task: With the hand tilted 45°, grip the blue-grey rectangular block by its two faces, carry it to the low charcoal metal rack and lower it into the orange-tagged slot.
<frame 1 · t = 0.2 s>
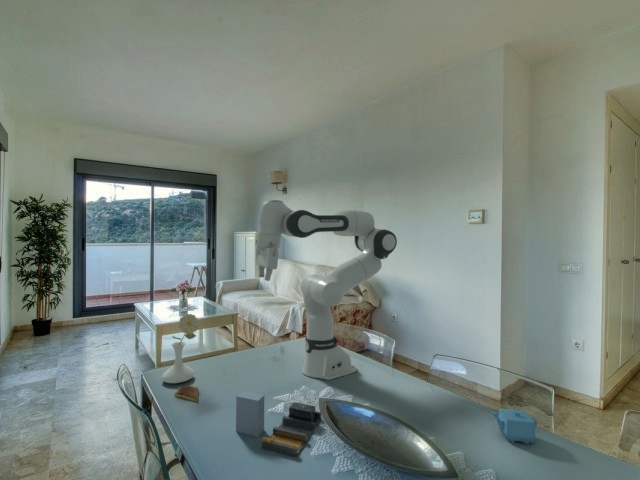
hand: (264, 278, 127), 39 cm above the table, tool pointing down, fingers open, 8 cm apart
rack: (293, 432, 95), on the table
teapot: (512, 438, 94), on the table
shard: (192, 395, 117), on the table
flower in vase: (180, 379, 129), on the table
blue-grey rectangular block: (250, 430, 96), on the table
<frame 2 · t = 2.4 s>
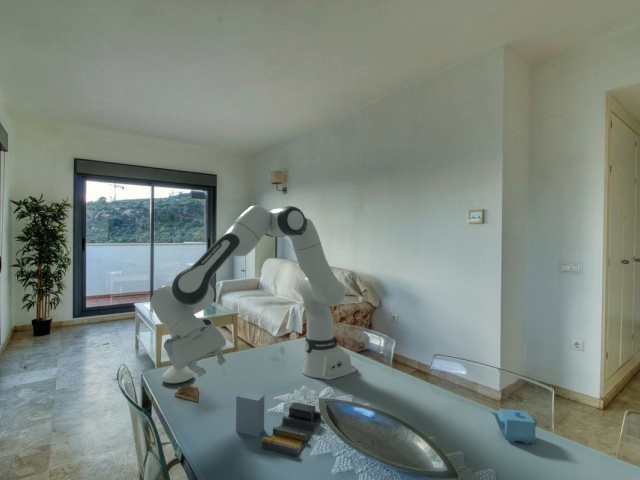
hand: (213, 368, 100), 16 cm above the table, tool tilted 45°, fingers open, 8 cm apart
nothing on the table moved.
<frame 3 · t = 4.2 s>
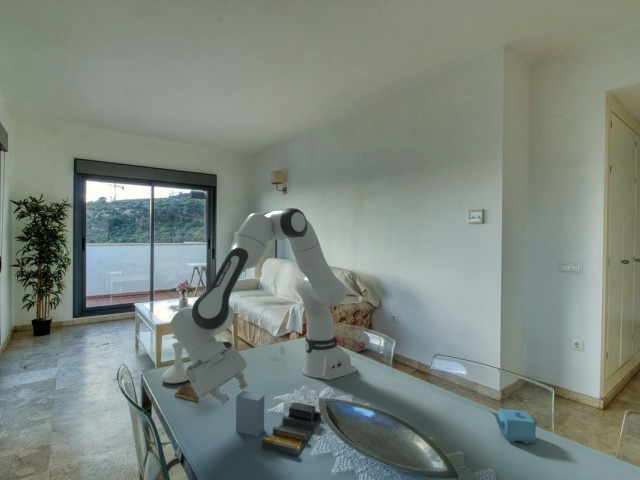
hand: (236, 394, 97), 9 cm above the table, tool tilted 45°, fingers open, 8 cm apart
nothing on the table moved.
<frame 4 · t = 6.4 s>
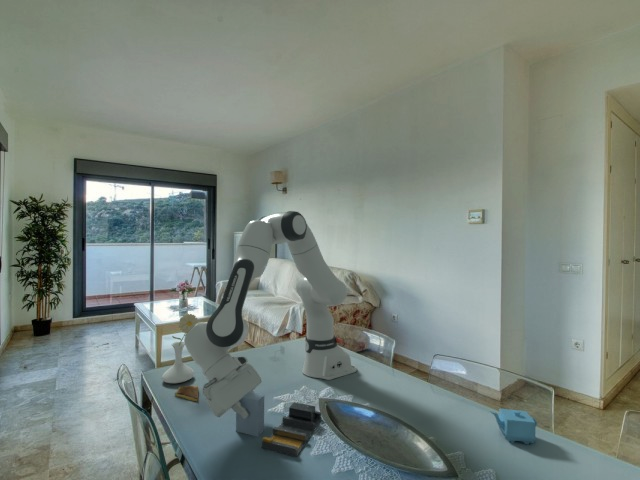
hand: (252, 412, 96), 5 cm above the table, tool tilted 45°, fingers closed on blue-grey rectangular block, 3 cm apart
blue-grey rectangular block: (250, 430, 96), on the table, touching gripper
everything else where it was.
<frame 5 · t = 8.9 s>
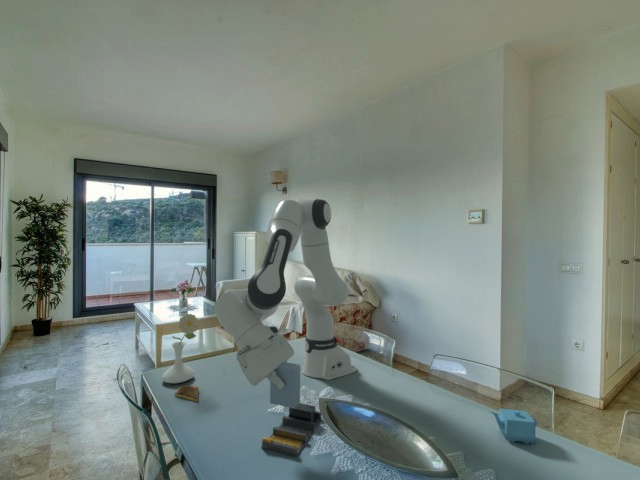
hand: (287, 382, 89), 17 cm above the table, tool tilted 45°, fingers closed on blue-grey rectangular block, 3 cm apart
blue-grey rectangular block: (285, 402, 89), point 11 cm above the table, touching gripper
everything else where it was.
when the fingers open (6 cm above the table, at t = 11.5 s): blue-grey rectangular block stays where it is, resting on rack.
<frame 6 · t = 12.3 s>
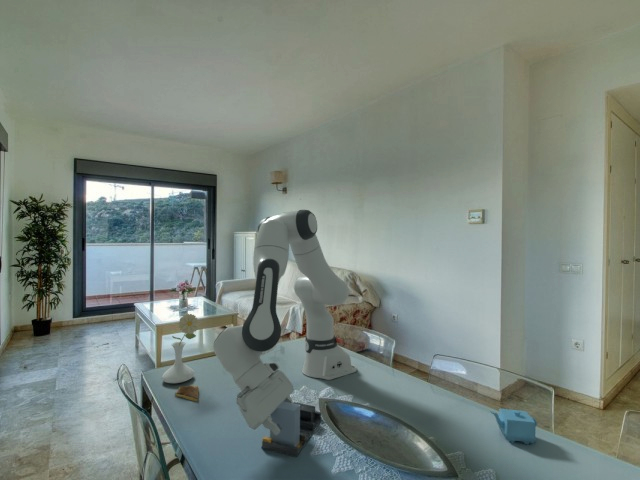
hand: (287, 422, 89), 6 cm above the table, tool tilted 45°, fingers open, 8 cm apart
blue-grey rectangular block: (284, 442, 90), resting on rack
everything else where it was.
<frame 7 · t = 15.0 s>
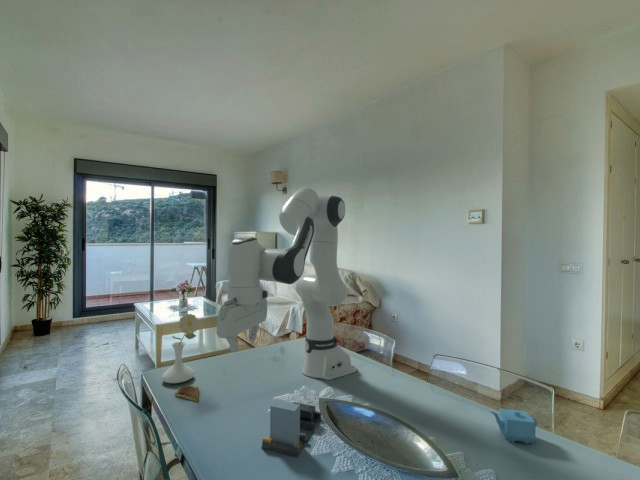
hand: (243, 345, 94), 25 cm above the table, tool pointing down, fingers open, 8 cm apart
nothing on the table moved.
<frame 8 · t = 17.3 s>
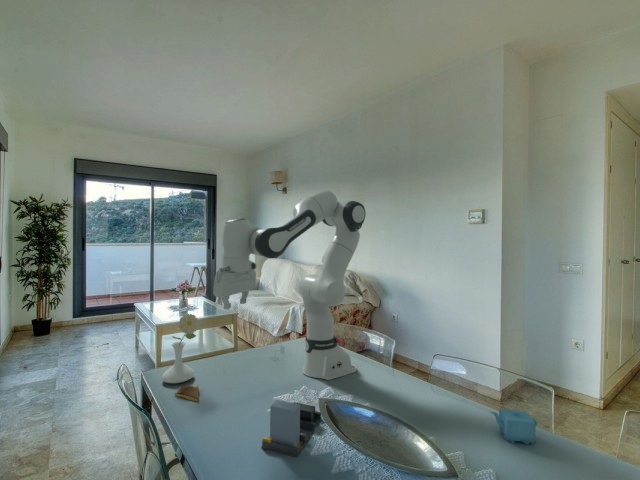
hand: (235, 306, 115), 31 cm above the table, tool pointing down, fingers open, 8 cm apart
nothing on the table moved.
at the end: blue-grey rectangular block 0.1 cm from the target spot on the rack, point 0.5 cm above the rack's base; blue-grey rectangular block tilted 0°; the gripper is holding nothing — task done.
